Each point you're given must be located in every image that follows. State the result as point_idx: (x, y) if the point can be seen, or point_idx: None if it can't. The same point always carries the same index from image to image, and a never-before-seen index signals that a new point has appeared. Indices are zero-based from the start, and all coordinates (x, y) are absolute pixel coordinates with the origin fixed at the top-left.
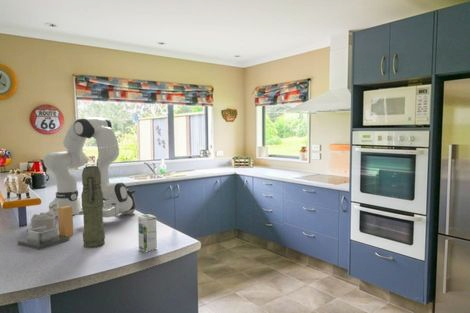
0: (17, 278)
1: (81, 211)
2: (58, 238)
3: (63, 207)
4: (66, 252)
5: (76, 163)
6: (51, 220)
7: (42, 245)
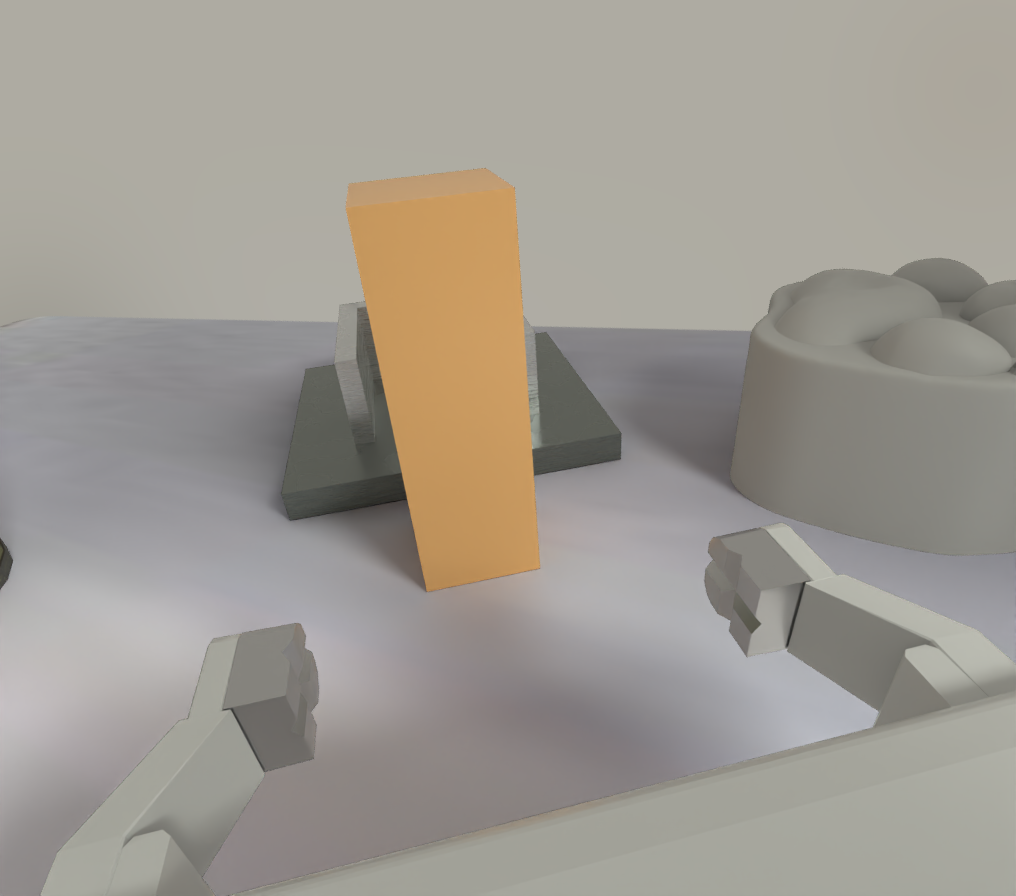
0: (82, 331)
1: (759, 559)
2: (335, 443)
3: (417, 182)
4: (67, 451)
5: None
6: (768, 378)
7: (304, 381)
